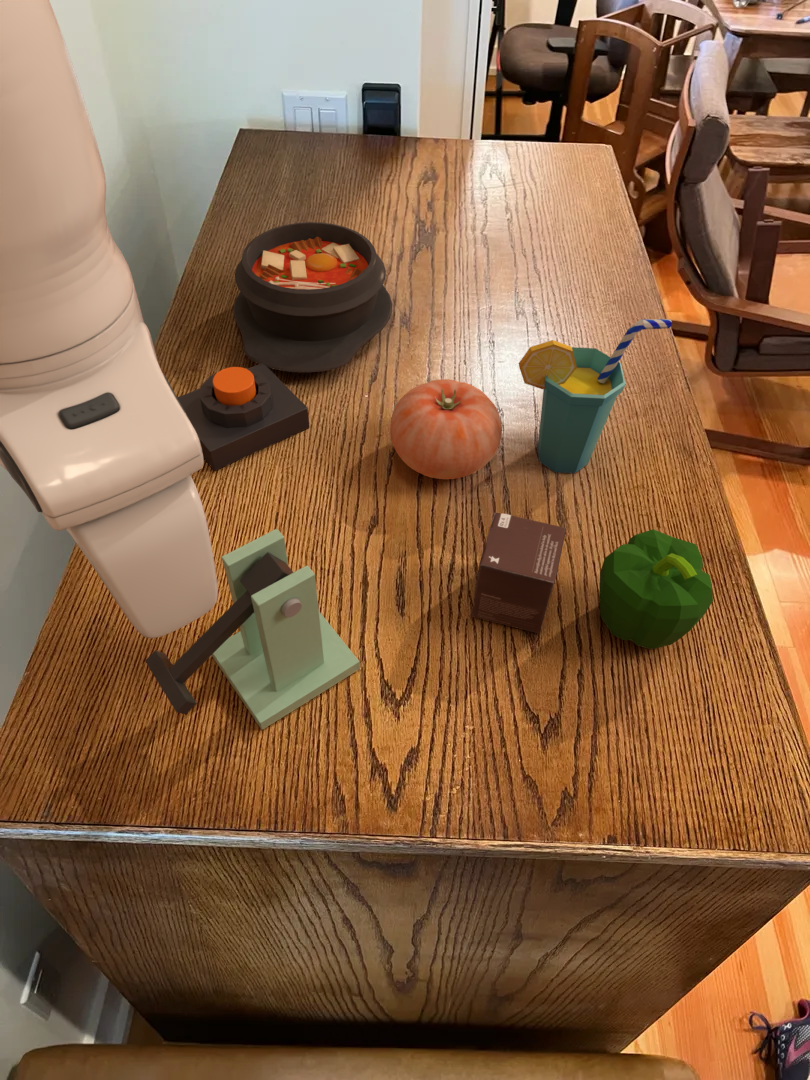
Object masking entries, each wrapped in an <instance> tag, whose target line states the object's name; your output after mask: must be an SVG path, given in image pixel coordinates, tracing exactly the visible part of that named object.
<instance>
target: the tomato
mask: <svg viewBox="0 0 810 1080" xmlns="http://www.w3.org/2000/svg"><path fill="white" fill-rule="evenodd" d="M502 431H503V430H502V421H501V417H500V414H499V410H498V408H497V406H496V405H495V403H494V402H493V401H492V400H491V399H490V398H489V397H488V395H487V394H485V392H484V391H482V390H481V389H479V388H478V387H476V386H474V385H473V384H470V383H468V382H462V381H457V380H454V379H434V380H433V379H432V380H430V381H428V382H425V383H421V384H418V385H416V386H414V387H412V388H411V389H410V390H409V391H407V392H406V393H405V394H404V395H403V396H402V397H401V398H400V399H399V400H398V402H397V403H396V405H395V407H394V408H393V412H392V414H391V417H390V426H389V435H390V440H391V443H392V447H393V448H394V451H395V452H396V453H397V455H398V456H399V458H400V459H401V461H402V462H403V463H404V464H405V465H406V466H407V467H409V468H410V469H411V470H413V471H415V472H416V473H419V474H421V475H423V476H426V477H429V478H432V479H437V480H438V479H439V480H454V479H455V480H456V479H460V478H464V477H468V476H470V475H472V474H474V473H476V472H478V471H481V469H482V468H484V467H485V466H487V464H488V463H489V462H491V460H492V459H493V457H494V456H495V454H496V453H497V451H498V449H499V447H500V444H501V439H502Z"/></svg>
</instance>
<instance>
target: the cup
mask: <svg viewBox="0 0 810 1080" xmlns="http://www.w3.org/2000/svg"><path fill="white" fill-rule="evenodd" d="M672 325H673V321H672V319H670V318H653V319H652V318H651V319H645V318H644V319H641V318H640V319H639V320H637V321H636V322H635V323H633V324H632V325H631V326H630V327H629V328H628V329H627V330H626V332H625V333H624V335H623V337H622V338H621V340H620V342H619V343H618V344H617V346H616V347H615V349H614V351H613V353H612V354H611V356H609V355H608V354H606V353H604V352H602V351H601V350H600V349H597V348H593V347H574V346H571V345H567V344H565V343H562V342H559V341H557V340H554V339H551V340H547V341H544V342H541V343H539V344H535V345H532V346H529V348H528V349H527V351H526V352H525V354H524V355H523V356H522V358H521V359H520V361H519V362H518V368H519V370H520V373H521V377H522V380H523V383H524V384H525V385H528V386H532V387H534V388H537V389H540V390H542V391H543V392H542V399H541V400H542V402H541V410H540V411H541V412H540V419H539V420H540V422H539V431H538V433H539V434H538V442H537V454H538V462H539V463H541V464H542V465H543V466H545V467H546V468H547V469H549V470H550V471H552V473H559V474H560V473H562V474H576V473H577V472H579V471H581V470H582V469H583V468H585V467H586V466H587V465H589V463H590V461H591V458H592V456H593V454H594V451H595V449H596V446H597V444H598V442H599V439H600V436H601V434H602V432H603V430H604V427H605V425H606V423H607V420H608V418H609V417H610V413H611V412H612V410H613V407H614V405H615V402H616V400H617V397H618V396H619V395H620V394H622V393H623V391H624V389H625V387H626V381H625V379H626V378H625V375H624V370H623V366H622V363H621V362H620V360H621V359H622V357H623V356H624V354H625V353H626V351H627V349H628V348H629V346H630V344H631V343H632V342H633V340H634V338H635V337H636V335H637V334H638V333H639V332H641V331H644V330H664V329H665V330H666V329H670V328H671V327H672Z"/></svg>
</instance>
